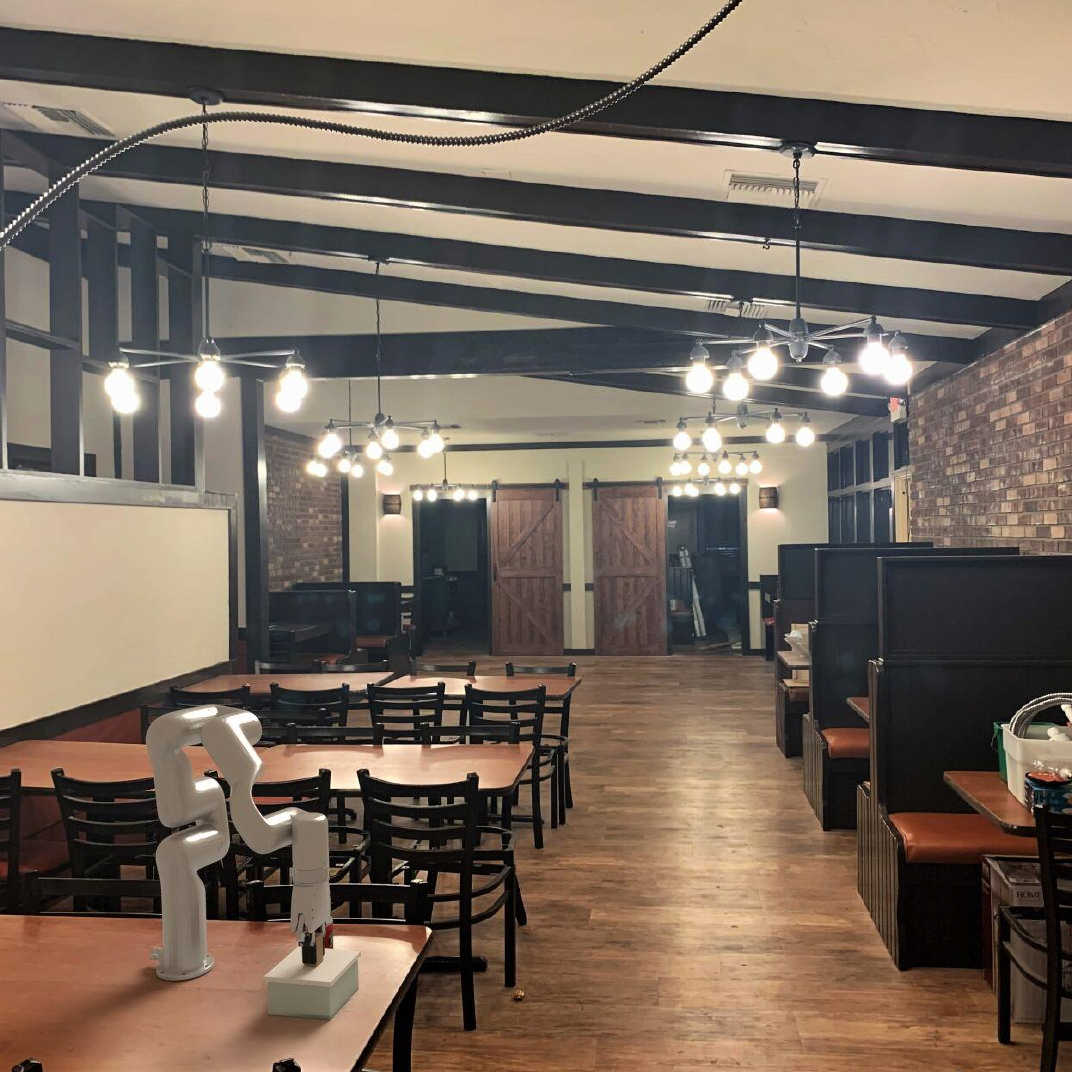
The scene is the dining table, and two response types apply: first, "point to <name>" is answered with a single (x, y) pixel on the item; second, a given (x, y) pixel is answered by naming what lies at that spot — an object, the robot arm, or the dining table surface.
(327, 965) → the lid
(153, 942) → the dining table surface
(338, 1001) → the box
